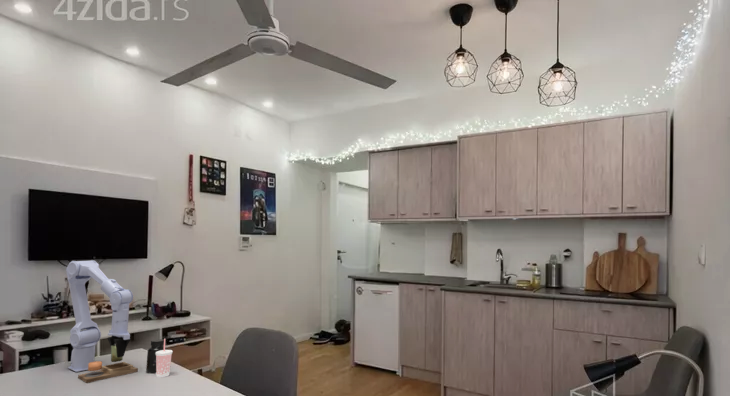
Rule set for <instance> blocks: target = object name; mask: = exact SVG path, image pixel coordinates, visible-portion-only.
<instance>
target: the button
mask: <svg viewBox="0 0 730 396" xmlns="http://www.w3.org/2000/svg"><path fill="white" fill-rule="evenodd" d="M102 366H103V361H100V360H98V361H97V360H96V361H95V360H94V362H90V363H89V364H88V370H87V371H89V372H95V371H99V370H101V369H102Z"/></svg>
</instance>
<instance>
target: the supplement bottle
mask: <svg viewBox="0 0 730 396" xmlns="http://www.w3.org/2000/svg"><path fill="white" fill-rule="evenodd" d="M160 350H164V339H162V338H161V339H160V338H158V339H152V340H151V341H150V347H149V348H148V349H147V354H146V365H145V366H146V367H145V368H146V369H145V371H146V373H148V374H156V352H157V351H160ZM165 350H167V347H165Z"/></svg>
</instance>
